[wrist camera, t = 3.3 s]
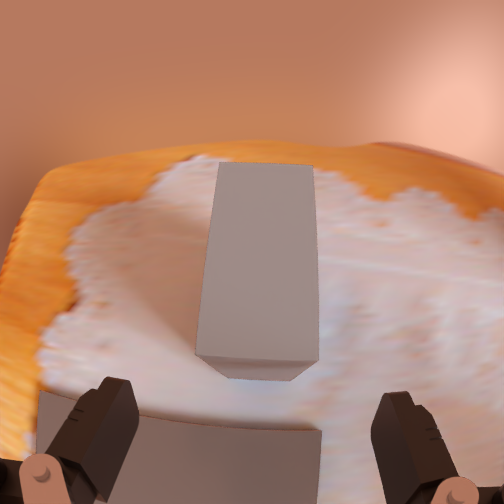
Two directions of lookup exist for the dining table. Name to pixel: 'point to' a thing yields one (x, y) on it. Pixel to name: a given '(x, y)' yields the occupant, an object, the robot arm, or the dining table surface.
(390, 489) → the robot arm
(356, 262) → the dining table surface
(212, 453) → the slate board
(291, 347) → the slab
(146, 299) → the dining table surface
